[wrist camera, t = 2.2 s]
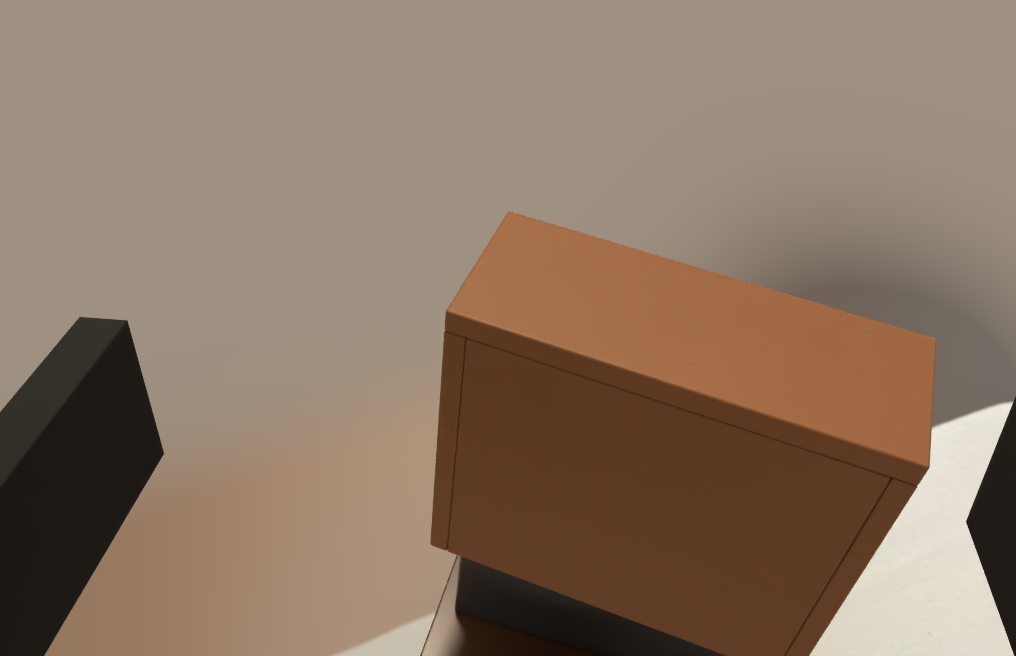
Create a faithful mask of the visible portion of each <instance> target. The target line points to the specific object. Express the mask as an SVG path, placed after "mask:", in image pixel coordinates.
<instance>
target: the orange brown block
mask: <svg viewBox="0 0 1016 656" xmlns="http://www.w3.org/2000/svg"><path fill="white" fill-rule="evenodd" d="M935 356H936V339H934V338H931V337H928V336H925V335H922V334H918V333H915V332H912V331H908V330H905V329H901V328H898V327H895V326H891V325H888V324H885V323H881V322H878V321H875V320H872V319H868V318H865V317H861V316H858V315H855V314H851V313H848V312H844V311H841V310H838V309H834V308H831V307H828V306H824V305H821V304H818V303H815V302H811V301H808V300H805V299H801V298H798V297H794V296H791V295H788V294H784V293H781V292H777V291H774V290H771V289H768V288H765V287H761V286H758V285H754V284H751V283H748V282H744V281H741V280H738V279H734V278H731V277H728V276H724V275H721V274H718V273H714V272H710V271H707V270H704V269H701V268H698V267H694V266H691V265H687V264H684V263H681V262H678V261H674V260H671V259H667V258H664V257H661V256H657V255H654V254H651V253H647V252H644V251H641V250H637V249H634V248H630V247H627V246H624V245H621V244H617V243H614V242H611V241H607V240H604V239H601V238H597V237H594V236H590V235H587V234H584V233H580V232H577V231H574V230H570V229H567V228H564V227H560V226H557V225H553V224H550V223H547V222H544V221H540V220H536V219H534V218H530V217H527V216H523V215H520V214H517V213H514V212H508V213H507V215H506V216H505V218H504V220H503V221H502V223H501V224H500V226H499V227H498V229H497V231H496V232H495V234H494V235H493V237H492V239H491V240H490V242H489V243H488V245H487V246H486V248H485V250H484V251H483V253H482V254H481V256H480V258H479V259H478V261H477V262H476V264H475V266H474V267H473V269H472V270H471V272H470V274H469V275H468V277H467V278H466V280H465V282H464V283H463V285H462V286H461V288H460V290H459V291H458V293H457V295H456V296H455V298H454V299H453V301H452V302H451V304H450V306H449V307H448V309H447V310H446V319H445V332H444V345H443V360H442V376H441V392H440V406H439V421H438V438H437V452H436V468H435V482H434V498H433V513H432V530H431V545H432V546H435V547H438V548H440V549H443V550H447V549H448V551H449V552H451V553H454V554H456V555H459V556H462V557H464V558H467V559H470V560H472V561H475V562H478V563H480V564H483V565H486V566H488V567H491V568H494V569H496V570H499V571H502V572H504V573H507V574H510V575H512V576H515V577H518V578H520V579H523V580H526V581H528V582H531V583H534V584H536V585H539V586H542V587H544V588H547V589H550V590H552V591H555V592H558V593H560V594H563V595H566V596H568V597H571V598H574V599H577V600H579V601H582V602H585V603H587V604H590V605H593V606H595V607H598V608H601V609H603V610H606V611H609V612H611V613H614V614H617V615H619V616H622V617H625V618H627V619H630V620H633V621H635V622H638V623H641V624H643V625H646V626H649V627H651V628H654V629H657V630H659V631H662V632H665V633H667V634H670V635H673V636H675V637H678V638H681V639H683V640H686V641H689V642H691V643H694V644H697V645H699V646H702V647H705V648H708V649H710V650H713V651H716V652H718V653H721V654H724V655H726V656H809V655H810V653H811V652H812V650H813V649H814V647H815V646H816V644H817V643H818V641H819V639H820V638H821V636H822V635H823V633H824V632H825V630H826V628H827V627H828V625H829V624H830V622H831V621H832V619H833V618H834V616H835V614H836V613H837V611H838V610H839V608H840V607H841V605H842V604H843V602H844V600H845V599H846V597H847V596H848V594H849V593H850V591H851V589H852V588H853V586H854V585H855V583H856V582H857V580H858V579H859V577H860V575H861V574H862V572H863V571H864V569H865V568H866V566H867V565H868V563H869V561H870V560H871V558H872V557H873V555H874V554H875V552H876V550H877V549H878V547H879V546H880V544H881V543H882V541H883V540H884V538H885V536H886V535H887V533H888V532H889V530H890V529H891V527H892V525H893V524H894V522H895V521H896V519H897V518H898V516H899V515H900V513H901V511H902V510H903V508H904V507H905V505H906V504H907V502H908V501H909V499H910V497H911V496H912V494H913V493H914V491H915V490H916V488H917V485H918V484H919V483H920V482H921V480H922V478H923V477H924V475H925V474H926V472H927V471H928V469H929V466H930V448H931V430H932V411H933V410H932V409H933V393H934V375H935Z"/></svg>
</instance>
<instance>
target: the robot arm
mask: <svg viewBox="0 0 1016 656" xmlns="http://www.w3.org/2000/svg"><path fill="white" fill-rule="evenodd" d="M163 454H164V452H163V448H162V445H161V441H160V437H159V434H158V430H157V426H156V423H155V419H154V415H153V412H152V408H151V405H150V401H149V397H148V394H147V390H146V387H145V383H144V379H143V376H142V372H141V368H140V365H139V361H138V357H137V354H136V351H135V347H134V343H133V339H132V336H131V332H130V328H129V325H128V321H127V320H113V319H99V318H84V317H79V319H78V320H77V321H76V322H75V323H74V325H73V326H72V327H71V328H70V329H69V331H68V332H67V333H66V335H64V337H63V338H62V339H61V340H60V341H59V343H58V344H57V345H56V346H55V347H54V349H53V350H52V351H51V352H50V353H49V355H48V356H47V357H46V358H45V359H44V360H43V362H42V363H41V364H40V365H39V367H38V368H37V369H36V370H35V371H34V372H33V374H32V375H31V376H30V377H29V378H28V380H27V381H26V382H25V383H24V385H23V386H22V387H21V388H20V389H19V390H18V392H17V393H16V394H15V395H14V396H13V398H12V399H11V400H10V401H9V402H8V403H7V405H6V406H5V407H4V408H3V409H2V411H1V412H0V656H44V655H45V653H46V652H47V650H48V648H49V647H50V645H51V643H52V642H53V640H54V638H55V636H56V635H57V633H58V631H59V629H60V628H61V626H62V625H63V623H64V621H65V619H66V618H67V616H68V614H69V613H70V611H71V609H72V608H73V606H74V604H75V603H76V601H77V599H78V597H79V596H80V594H81V593H82V591H83V589H84V588H85V586H86V584H87V583H88V581H89V579H90V577H91V576H92V574H93V572H94V571H95V569H96V567H97V566H98V564H99V562H100V561H101V559H102V557H103V555H104V554H105V552H106V551H107V549H108V547H109V545H110V544H111V542H112V540H113V539H114V537H115V535H116V534H117V532H118V530H119V529H120V527H121V525H122V523H123V522H124V520H125V518H126V517H127V515H128V513H129V512H130V510H131V508H132V507H133V505H134V503H135V501H136V500H137V498H138V497H139V495H140V493H141V491H142V490H143V488H144V486H145V485H146V483H147V481H148V480H149V478H150V476H151V475H152V473H153V471H154V470H155V468H156V466H157V465H158V463H159V461H160V459H161V458H162V456H163ZM966 523H967V526H968V528H969V531H970V534H971V537H972V540H973V542H974V545H975V548H976V551H977V553H978V556H979V559H980V562H981V564H982V567H983V570H984V573H985V576H986V578H987V581H988V584H989V587H990V589H991V592H992V595H993V598H994V600H995V603H996V606H997V609H998V612H999V614H1000V617H1001V620H1002V623H1003V625H1004V628H1005V631H1006V634H1007V636H1008V639H1009V642H1010V645H1011V648H1012V650H1013V653H1014V656H1016V397H1015V400H1014V402H1013V405H1012V407H1011V410H1010V412H1009V415H1008V417H1007V420H1006V422H1005V425H1004V427H1003V430H1002V432H1001V435H1000V437H999V440H998V442H997V445H996V447H995V450H994V452H993V455H992V458H991V460H990V463H989V465H988V468H987V470H986V473H985V475H984V478H983V480H982V483H981V485H980V488H979V490H978V493H977V495H976V498H975V500H974V503H973V505H972V508H971V510H970V513H969V515H968V518H967V520H966Z"/></svg>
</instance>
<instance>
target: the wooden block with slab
mask: <svg viewBox="0 0 1016 656" xmlns="http://www.w3.org/2000/svg"><path fill="white" fill-rule="evenodd" d="M420 656H726V655H724V654H721V653H718V652H716V651H713V650H710V649H708V648H705V647H702V646H699V645H697V644H694V643H691V642H689V641H686V640H683V639H681V638H678V637H675V636H673V635H670V634H667V633H665V632H662V631H659V630H657V629H654V628H651V627H649V626H646V625H643V624H641V623H638V622H635V621H633V620H630V619H627V618H625V617H622V616H619V615H617V614H614V613H611V612H609V611H606V610H603V609H601V608H598V607H595V606H593V605H590V604H587V603H585V602H582V601H579V600H577V599H574V598H571V597H568V596H566V595H563V594H560V593H558V592H555V591H552V590H550V589H547V588H544V587H542V586H539V585H536V584H534V583H531V582H528V581H526V580H523V579H520V578H518V577H515V576H512V575H510V574H507V573H504V572H502V571H499V570H496V569H494V568H491V567H488V566H486V565H483V564H480V563H478V562H475V561H472V560H470V559H467V558H464V557H462V556H459V555H457V557H456V559H455V562H454V565H453V568H452V570H451V573H450V576H449V578H448V581H447V584H446V587H445V589H444V592H443V595H442V598H441V600H440V603H439V606H438V609H437V611H436V614H435V617H434V620H433V622H432V625H431V628H430V630H429V633H428V636H427V639H426V641H425V644H424V647H423V650H422V652H421V655H420Z"/></svg>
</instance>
